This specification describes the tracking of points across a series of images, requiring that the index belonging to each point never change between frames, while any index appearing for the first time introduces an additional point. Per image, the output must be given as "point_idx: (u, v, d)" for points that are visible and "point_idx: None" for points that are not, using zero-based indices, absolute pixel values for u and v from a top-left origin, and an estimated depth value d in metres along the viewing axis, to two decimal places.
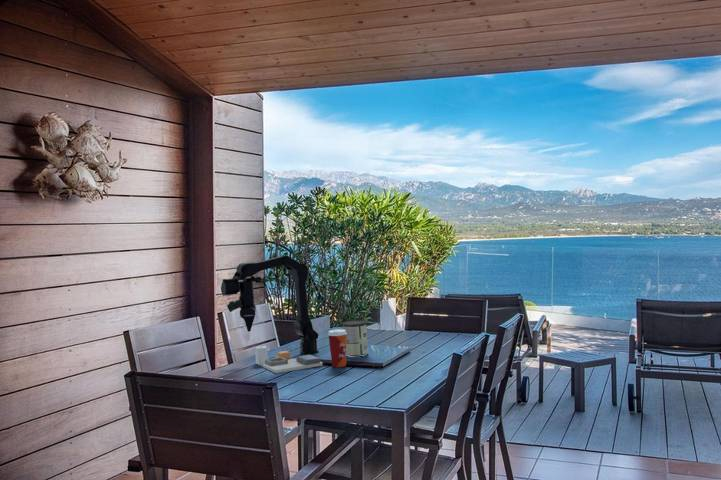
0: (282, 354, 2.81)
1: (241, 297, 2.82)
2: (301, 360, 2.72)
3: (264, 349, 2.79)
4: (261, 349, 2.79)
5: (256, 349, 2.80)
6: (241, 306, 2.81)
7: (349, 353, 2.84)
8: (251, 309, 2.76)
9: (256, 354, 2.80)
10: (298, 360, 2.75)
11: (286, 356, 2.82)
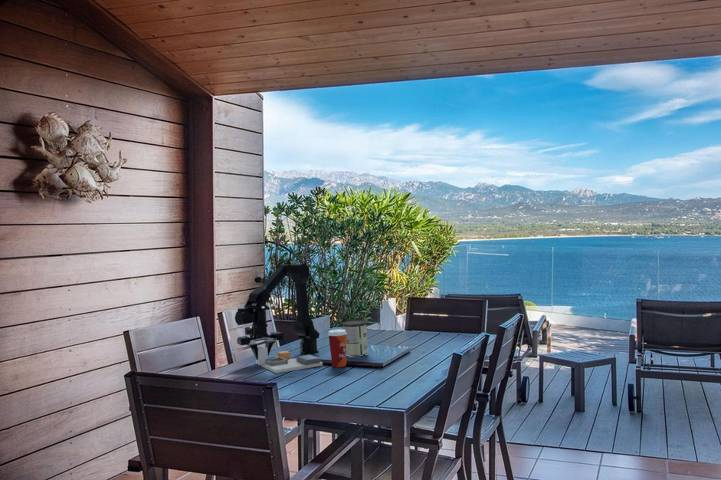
0: (282, 354, 2.81)
1: (252, 325, 2.81)
2: (301, 360, 2.72)
3: (264, 349, 2.79)
4: (261, 349, 2.79)
5: None
6: (251, 334, 2.81)
7: (349, 353, 2.84)
8: (240, 339, 2.75)
9: None
10: (298, 360, 2.75)
11: (286, 356, 2.82)
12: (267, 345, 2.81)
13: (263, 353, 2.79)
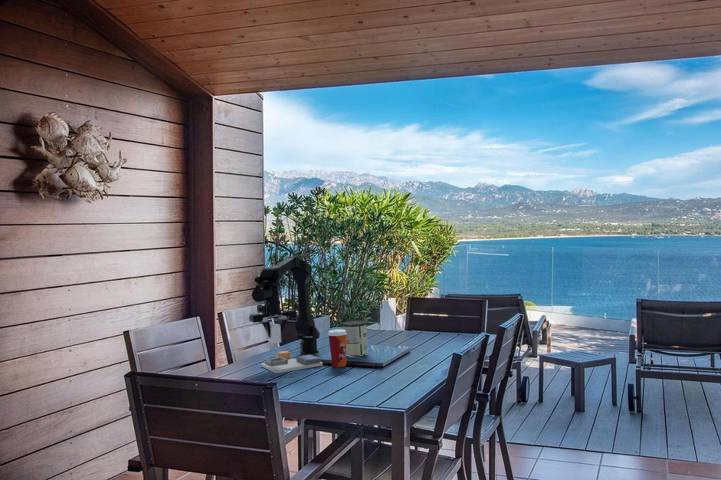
0: (282, 354, 2.81)
1: (265, 302, 2.75)
2: (301, 360, 2.72)
3: (277, 327, 2.73)
4: (274, 327, 2.72)
5: None
6: (264, 311, 2.75)
7: (349, 353, 2.84)
8: (253, 316, 2.68)
9: None
10: (298, 360, 2.75)
11: (286, 356, 2.82)
12: (280, 323, 2.74)
13: (276, 331, 2.72)
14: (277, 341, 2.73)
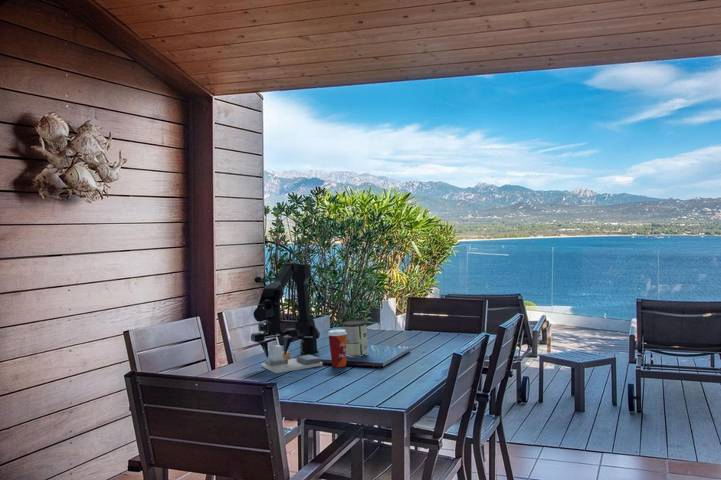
0: (282, 354, 2.81)
1: (266, 321, 2.75)
2: (301, 360, 2.72)
3: (279, 348, 2.73)
4: (276, 348, 2.72)
5: (270, 348, 2.73)
6: (265, 330, 2.75)
7: (349, 353, 2.84)
8: (254, 336, 2.68)
9: (270, 353, 2.74)
10: (298, 360, 2.75)
11: (286, 356, 2.82)
12: (285, 341, 2.75)
13: (278, 352, 2.73)
14: None
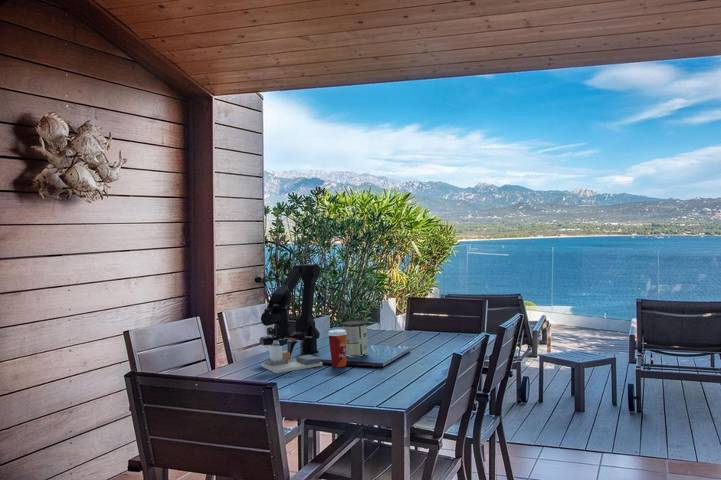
0: (282, 354, 2.81)
1: (274, 325, 2.84)
2: (301, 360, 2.72)
3: (279, 348, 2.73)
4: (276, 348, 2.72)
5: (270, 348, 2.73)
6: (273, 334, 2.84)
7: (349, 353, 2.84)
8: (263, 339, 2.77)
9: (270, 353, 2.74)
10: (298, 360, 2.75)
11: (286, 356, 2.82)
12: (289, 345, 2.84)
13: (278, 352, 2.73)
14: None
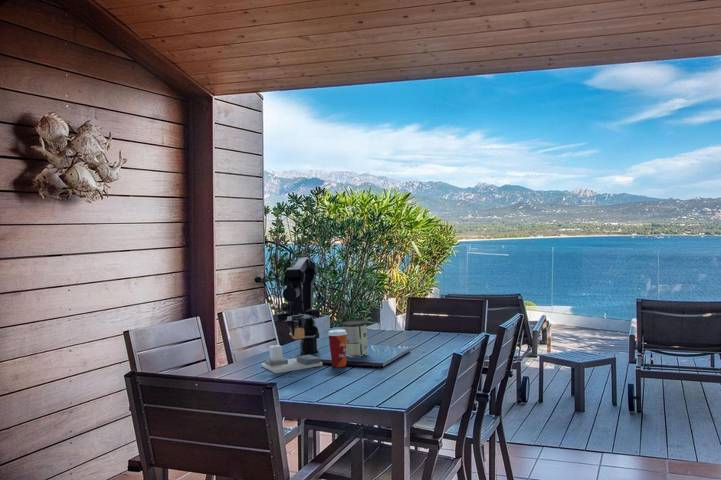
0: (296, 330, 2.78)
1: (288, 301, 2.81)
2: (301, 360, 2.72)
3: (279, 348, 2.73)
4: (276, 348, 2.72)
5: (270, 348, 2.73)
6: (287, 310, 2.81)
7: (349, 353, 2.84)
8: (277, 315, 2.75)
9: (270, 353, 2.74)
10: (298, 360, 2.75)
11: (300, 332, 2.79)
12: (303, 322, 2.81)
13: (278, 352, 2.73)
14: None
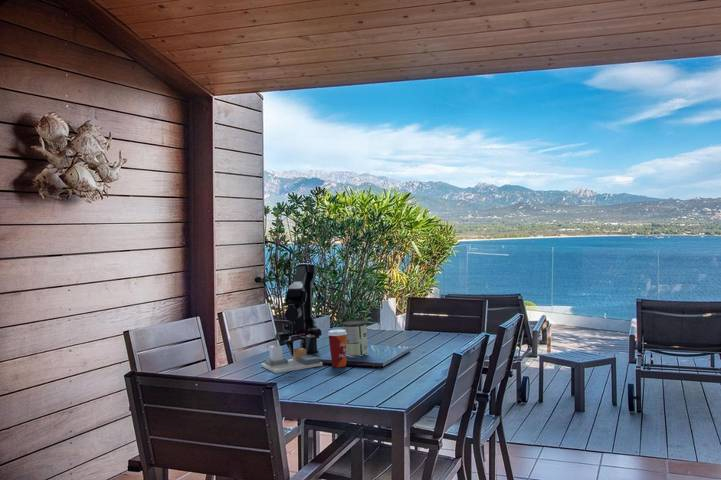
0: (298, 351, 2.78)
1: (290, 321, 2.81)
2: (301, 360, 2.72)
3: (279, 348, 2.73)
4: (276, 348, 2.72)
5: (270, 348, 2.73)
6: (289, 330, 2.81)
7: (349, 353, 2.84)
8: (279, 335, 2.75)
9: (270, 353, 2.74)
10: (298, 360, 2.75)
11: (302, 353, 2.79)
12: (308, 341, 2.82)
13: (278, 352, 2.73)
14: None
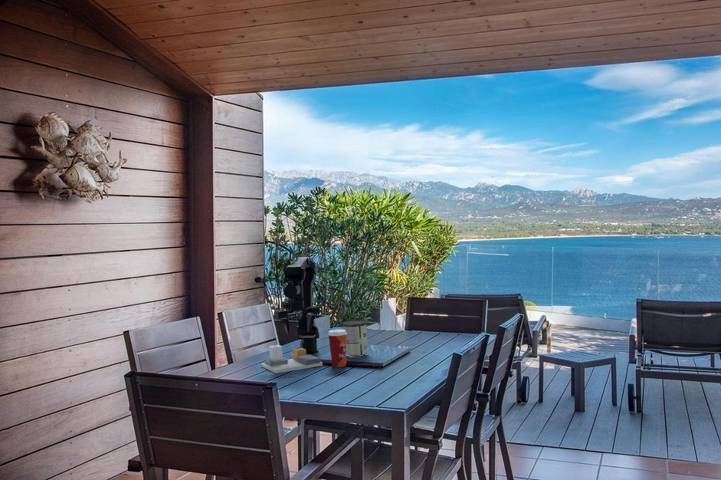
0: (298, 351, 2.78)
1: (289, 299, 2.81)
2: (301, 360, 2.72)
3: (279, 348, 2.73)
4: (276, 348, 2.72)
5: (270, 348, 2.73)
6: (288, 308, 2.81)
7: (349, 353, 2.84)
8: (278, 312, 2.74)
9: (270, 353, 2.74)
10: (298, 360, 2.75)
11: (302, 353, 2.79)
12: (309, 318, 2.82)
13: (278, 352, 2.73)
14: None
